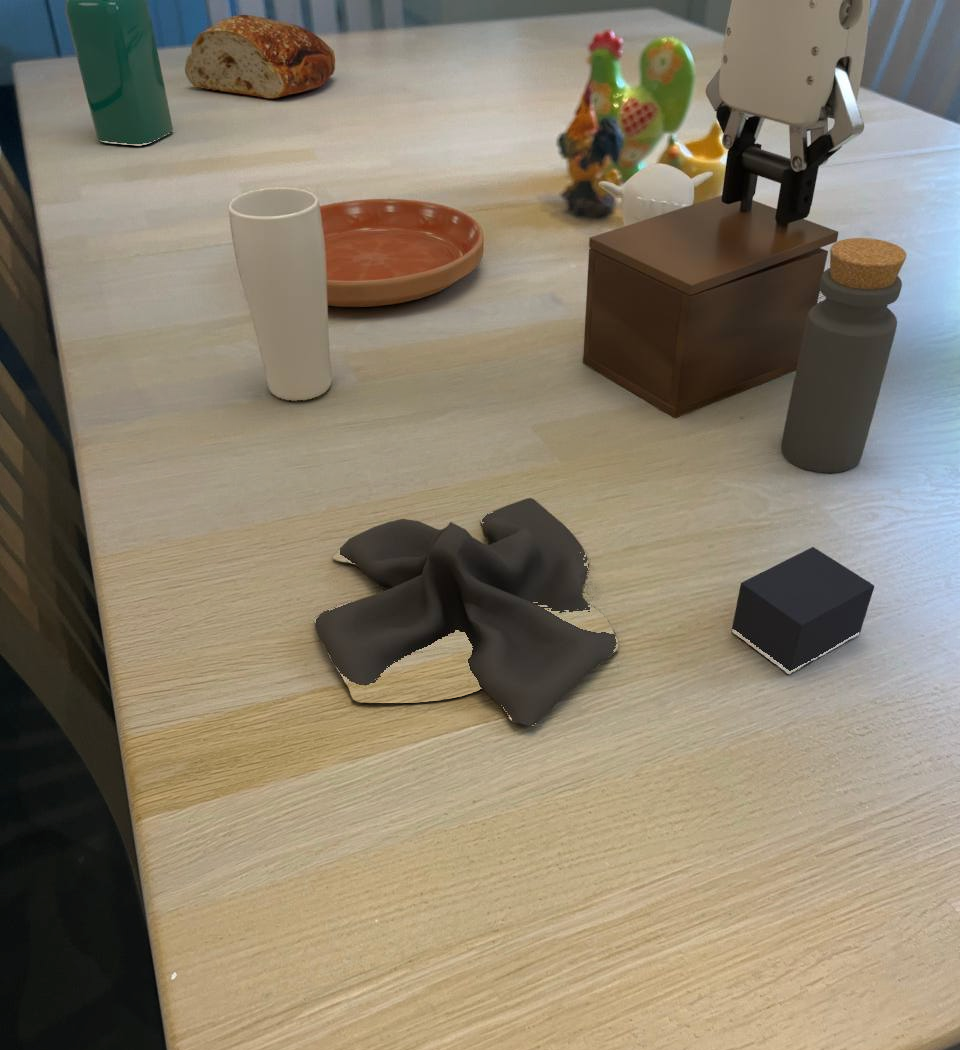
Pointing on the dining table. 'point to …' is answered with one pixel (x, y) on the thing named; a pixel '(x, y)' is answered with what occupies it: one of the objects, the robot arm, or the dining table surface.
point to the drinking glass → (285, 286)
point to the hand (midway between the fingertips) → (764, 207)
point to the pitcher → (120, 69)
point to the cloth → (473, 605)
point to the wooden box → (697, 330)
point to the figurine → (654, 192)
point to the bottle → (843, 356)
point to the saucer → (396, 250)
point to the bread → (259, 58)
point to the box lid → (715, 235)
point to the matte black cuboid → (802, 607)
